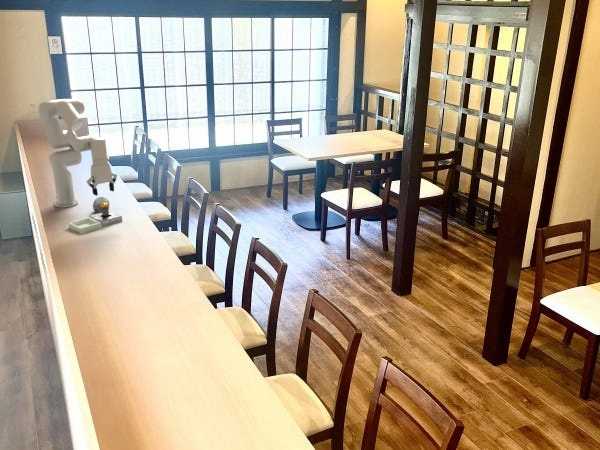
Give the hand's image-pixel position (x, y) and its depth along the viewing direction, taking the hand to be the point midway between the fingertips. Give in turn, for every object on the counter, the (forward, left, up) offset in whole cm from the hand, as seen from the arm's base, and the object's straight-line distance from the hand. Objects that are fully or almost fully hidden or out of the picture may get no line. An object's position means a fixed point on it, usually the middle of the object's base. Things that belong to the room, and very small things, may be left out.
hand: (103, 193), depth 298 cm
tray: (0, -13, -16) cm, 21 cm away
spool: (-15, +6, -16) cm, 23 cm away
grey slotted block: (-1, 0, -16) cm, 16 cm away
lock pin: (-1, 0, -16) cm, 16 cm away
